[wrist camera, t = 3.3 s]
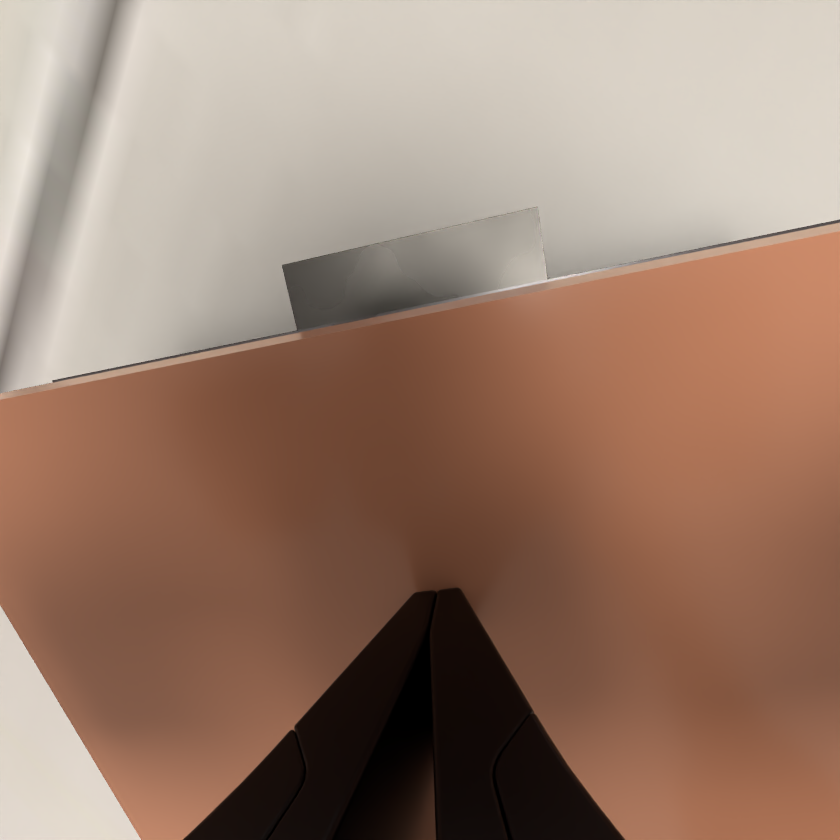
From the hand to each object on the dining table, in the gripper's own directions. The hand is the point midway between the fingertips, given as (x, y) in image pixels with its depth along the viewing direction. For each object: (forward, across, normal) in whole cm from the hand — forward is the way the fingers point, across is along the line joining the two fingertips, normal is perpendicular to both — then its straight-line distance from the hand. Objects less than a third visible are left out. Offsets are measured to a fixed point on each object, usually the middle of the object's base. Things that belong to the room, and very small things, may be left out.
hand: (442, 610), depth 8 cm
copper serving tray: (+1, 0, +3) cm, 3 cm away
